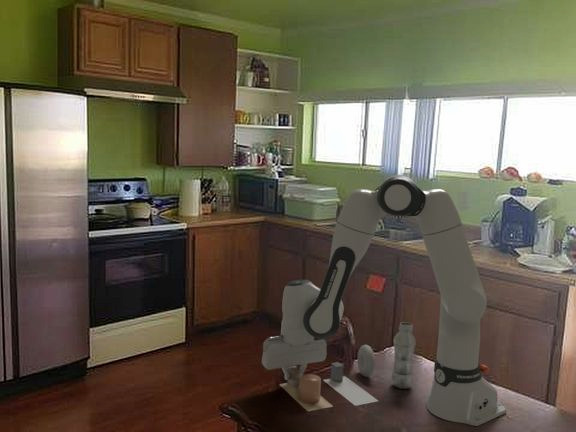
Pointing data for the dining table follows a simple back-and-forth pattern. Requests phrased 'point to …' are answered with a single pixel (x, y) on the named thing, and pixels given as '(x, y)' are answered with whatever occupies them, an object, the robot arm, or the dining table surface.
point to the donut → (366, 360)
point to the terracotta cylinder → (309, 388)
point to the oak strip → (293, 390)
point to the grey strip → (347, 386)
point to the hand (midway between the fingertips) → (293, 378)
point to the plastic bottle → (403, 357)
